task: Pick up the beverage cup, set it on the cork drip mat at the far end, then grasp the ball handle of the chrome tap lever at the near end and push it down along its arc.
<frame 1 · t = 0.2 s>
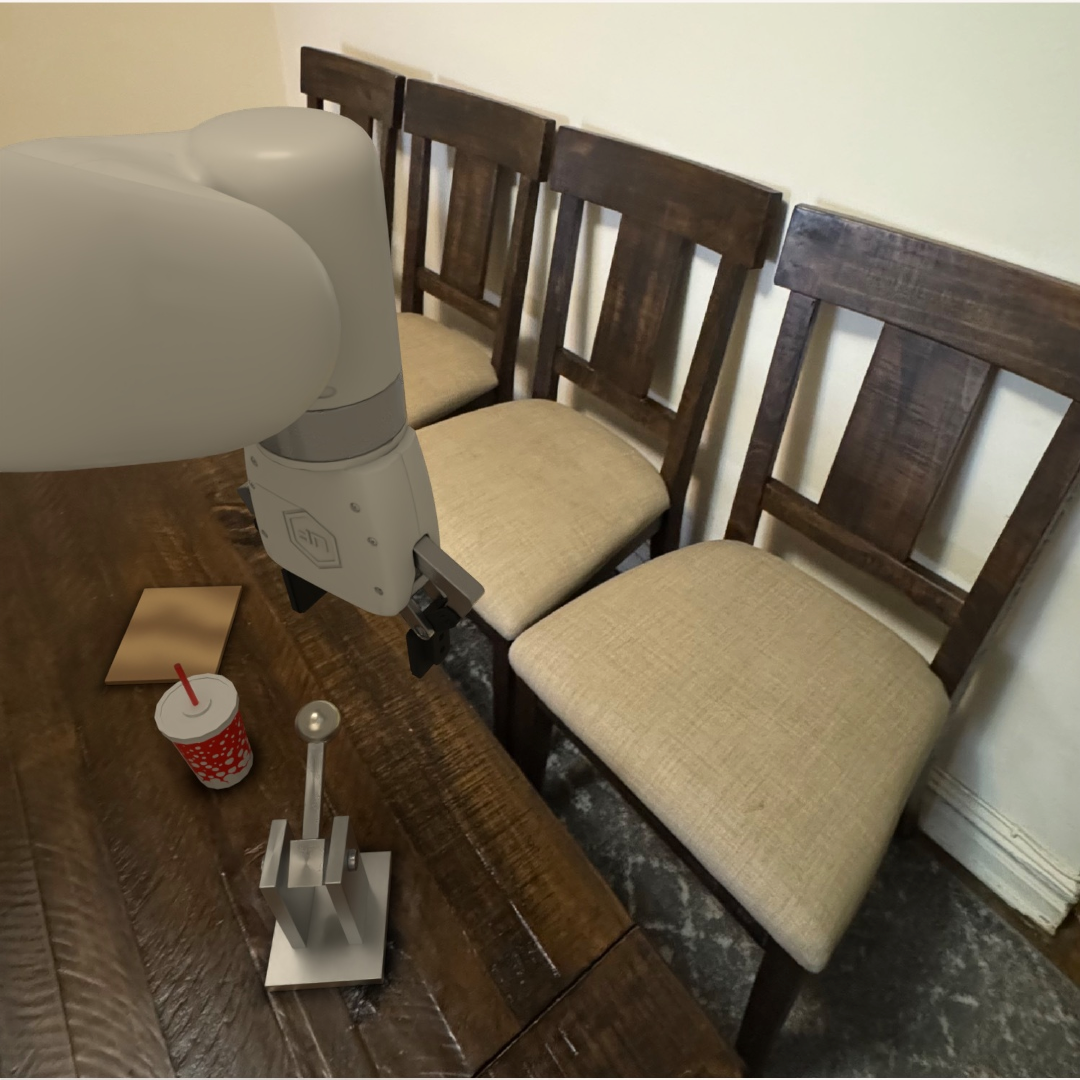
hand: (370, 629, 48), 22 cm above the table, tool pointing down, fingers open, 9 cm apart
beverage cup: (226, 765, 65), on the table
tap lever: (314, 788, 50), point 12 cm above the table, hinge at 25.0°
drip mat: (179, 634, 75), on the table
tap: (334, 920, 55), on the table
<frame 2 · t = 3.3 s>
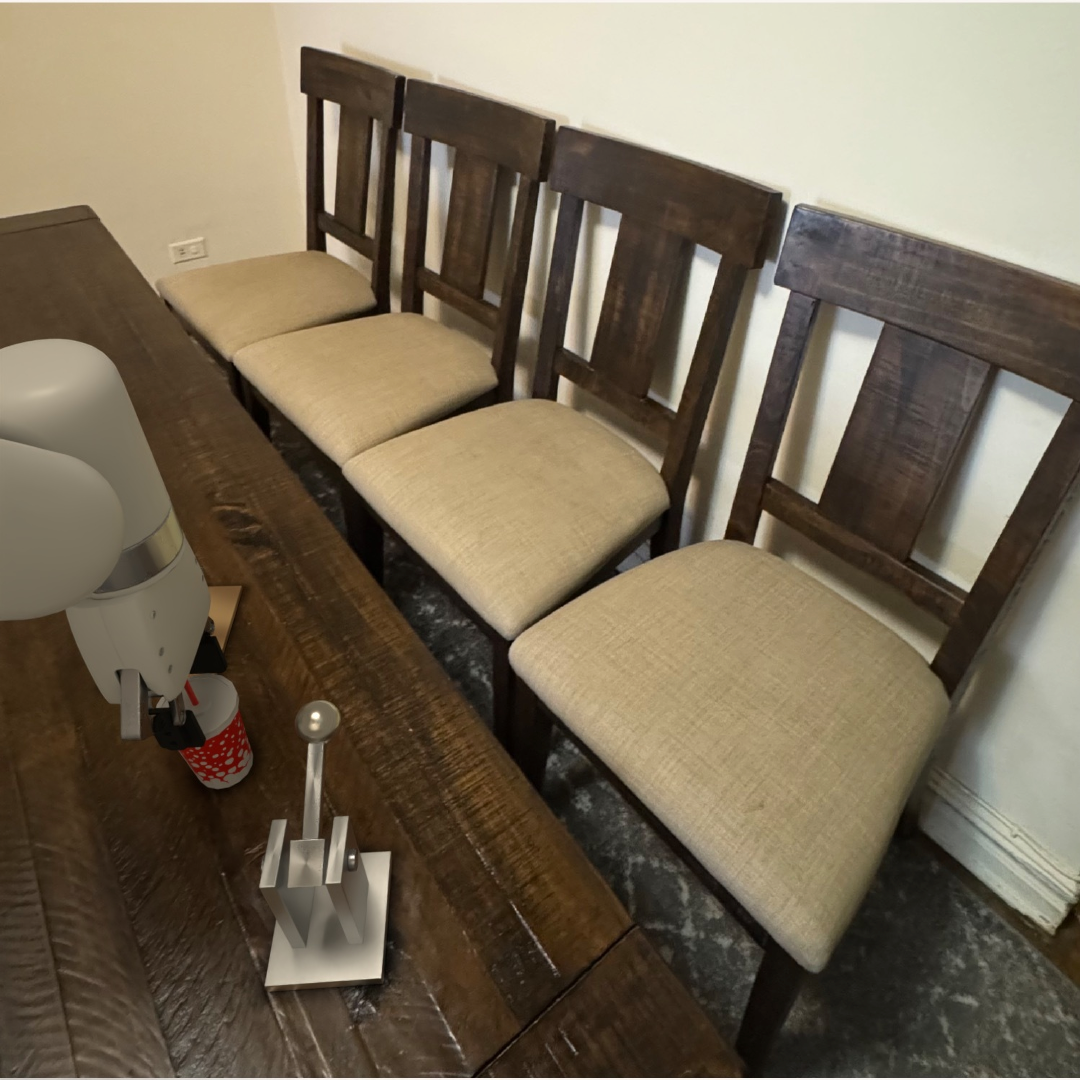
hand: (196, 704, 58), 9 cm above the table, tool pointing down, fingers closed on beverage cup, 6 cm apart
beverage cup: (226, 765, 65), on the table, touching gripper
everything else where it was.
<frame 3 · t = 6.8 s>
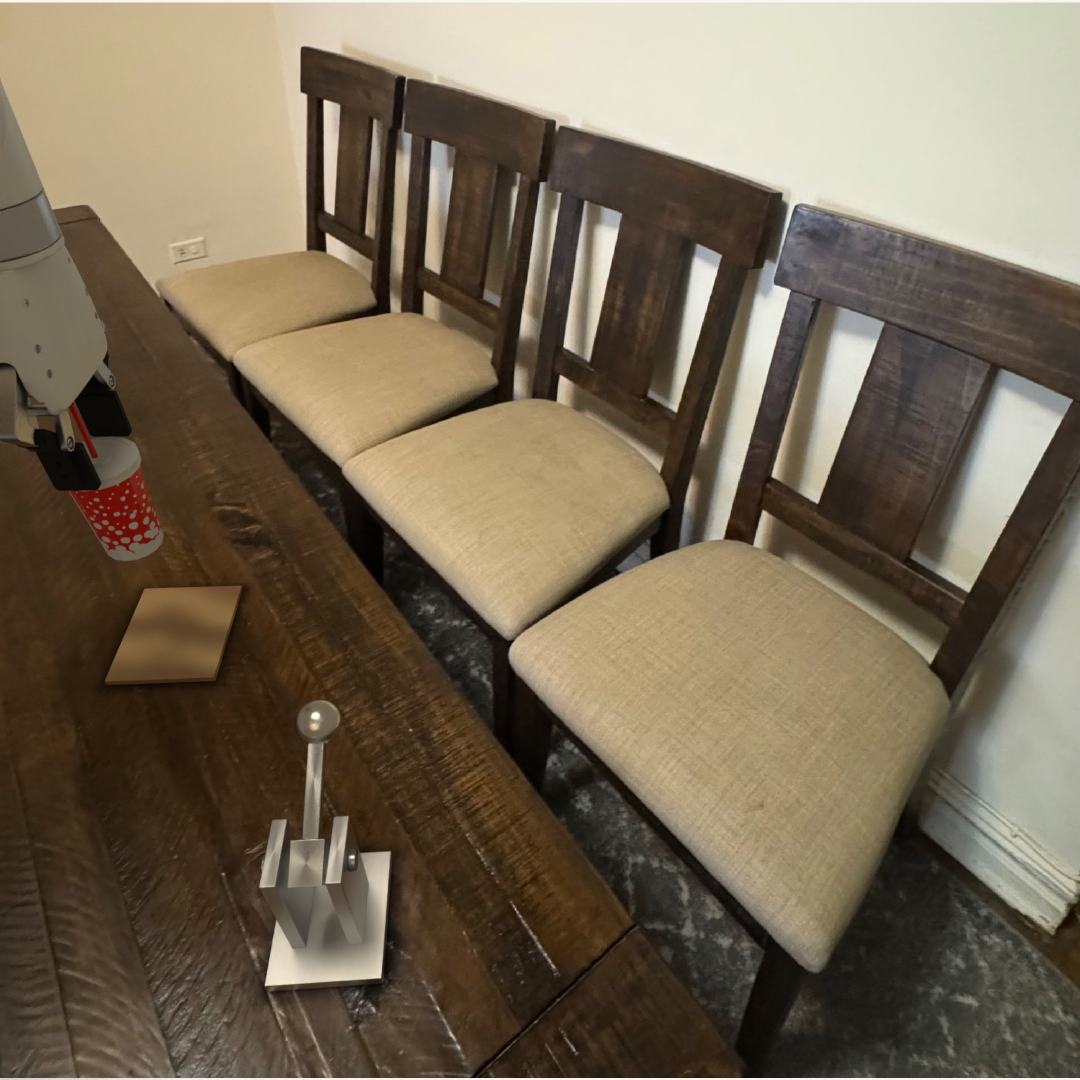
hand: (95, 458, 58), 23 cm above the table, tool pointing down, fingers closed on beverage cup, 6 cm apart
beverage cup: (135, 544, 64), point 14 cm above the table, touching gripper
everything else where it was.
when the fingers open (10 cm above the table, at t = 10.2 s): beverage cup stays where it is, resting on drip mat.
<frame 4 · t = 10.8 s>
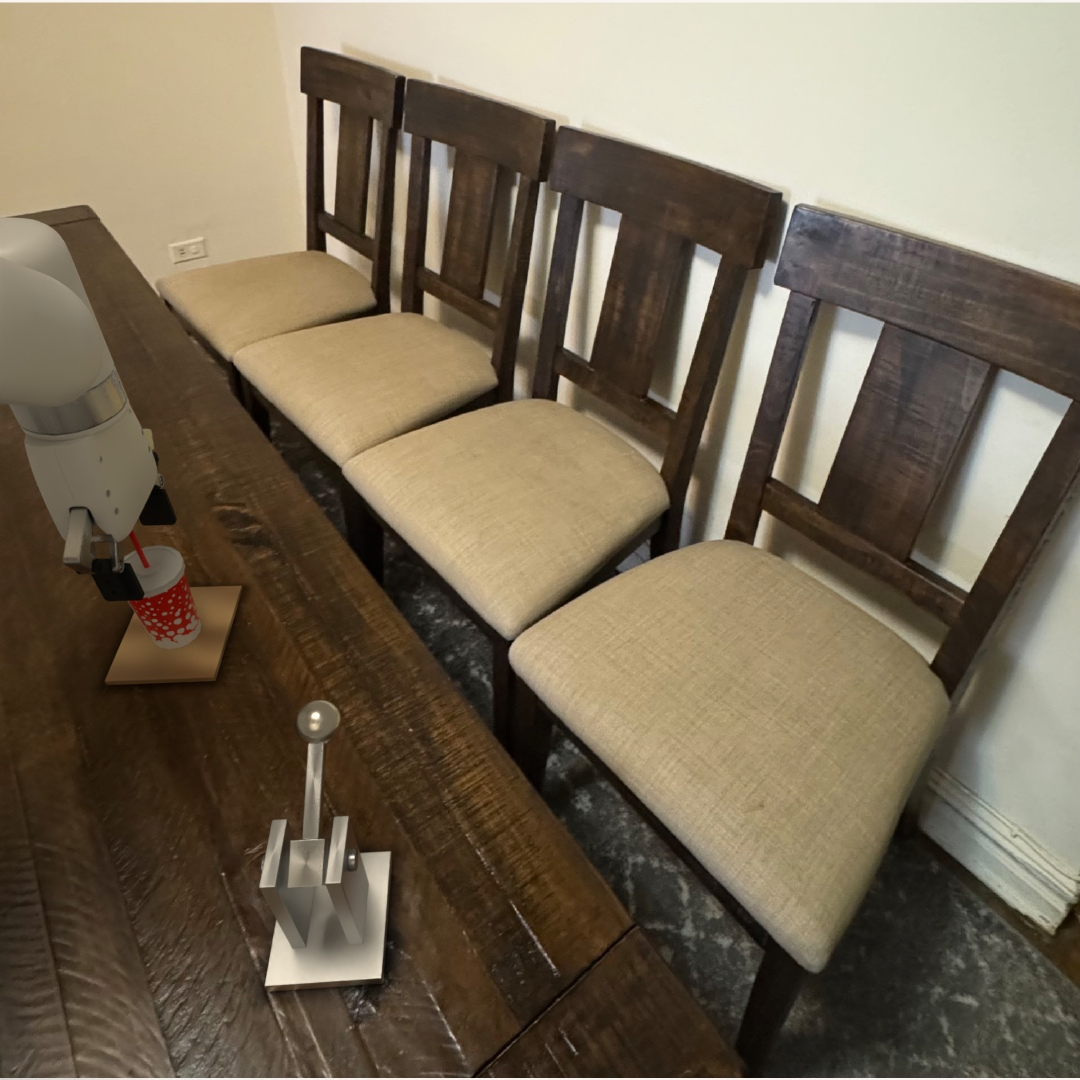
hand: (143, 558, 67), 11 cm above the table, tool pointing down, fingers open, 9 cm apart
beverage cup: (177, 632, 74), resting on drip mat
everything else where it was.
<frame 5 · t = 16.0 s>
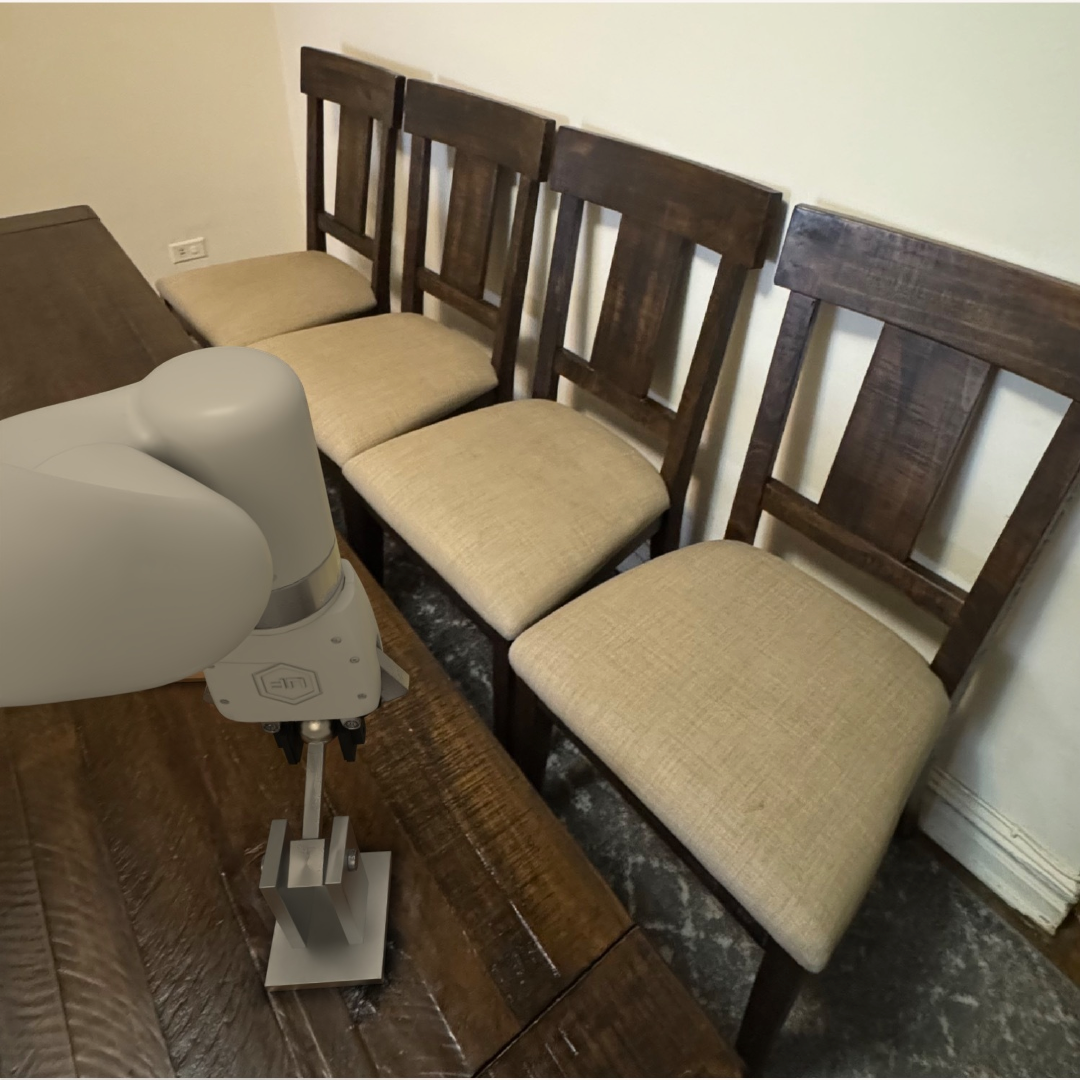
hand: (325, 744, 54), 11 cm above the table, tool pointing down, fingers closed on tap lever, 3 cm apart
tap lever: (314, 788, 50), point 12 cm above the table, hinge at 25.0°, touching gripper
everything else where it was.
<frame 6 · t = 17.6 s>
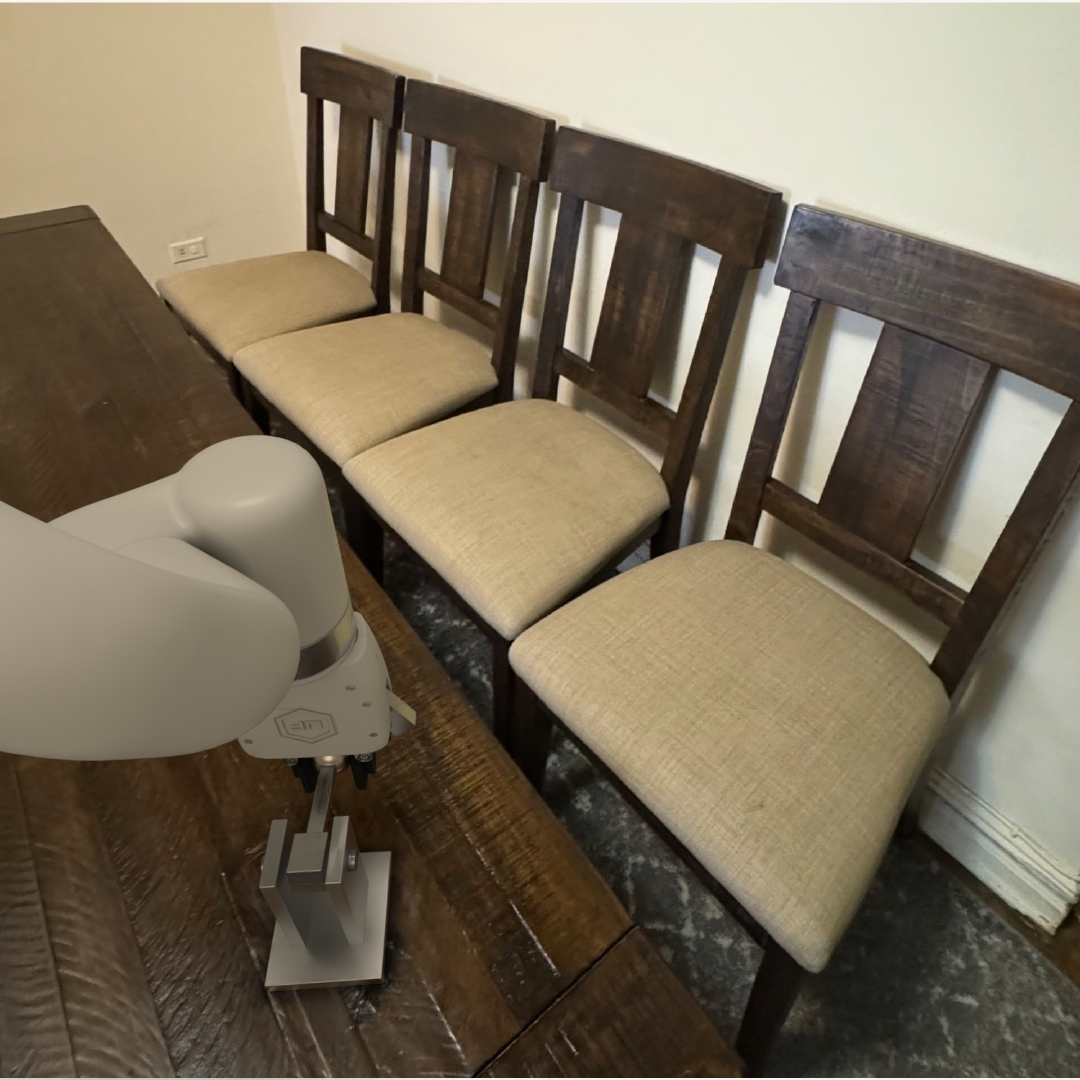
hand: (338, 773, 58), 5 cm above the table, tool pointing down, fingers closed on tap lever, 3 cm apart
tap lever: (322, 803, 52), point 9 cm above the table, hinge at -9.6°, touching gripper
everything else where it was.
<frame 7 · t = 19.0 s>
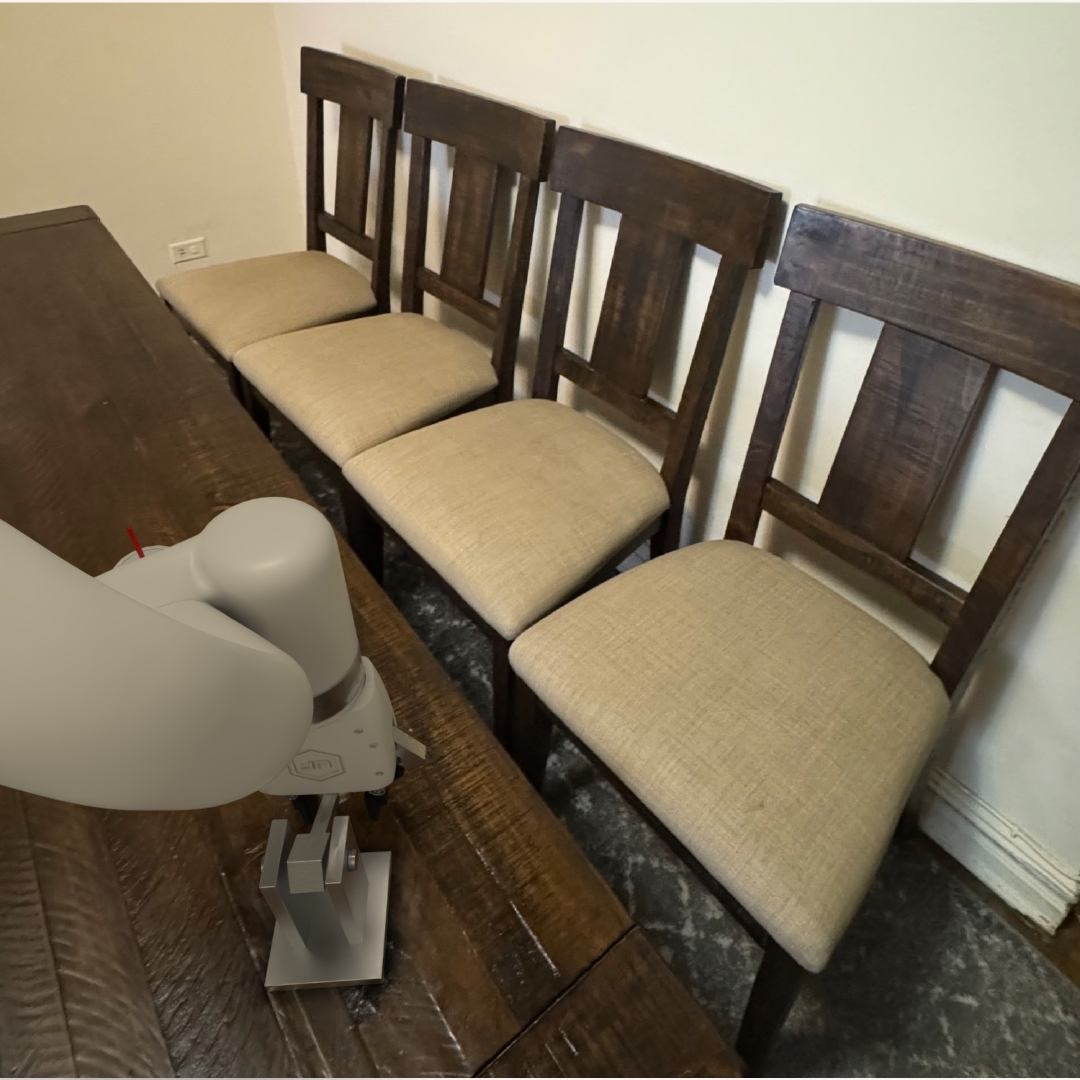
hand: (344, 805, 60), 2 cm above the table, tool pointing down, fingers open, 4 cm apart
tap lever: (324, 819, 53), point 8 cm above the table, hinge at -28.6°
everything else where it was.
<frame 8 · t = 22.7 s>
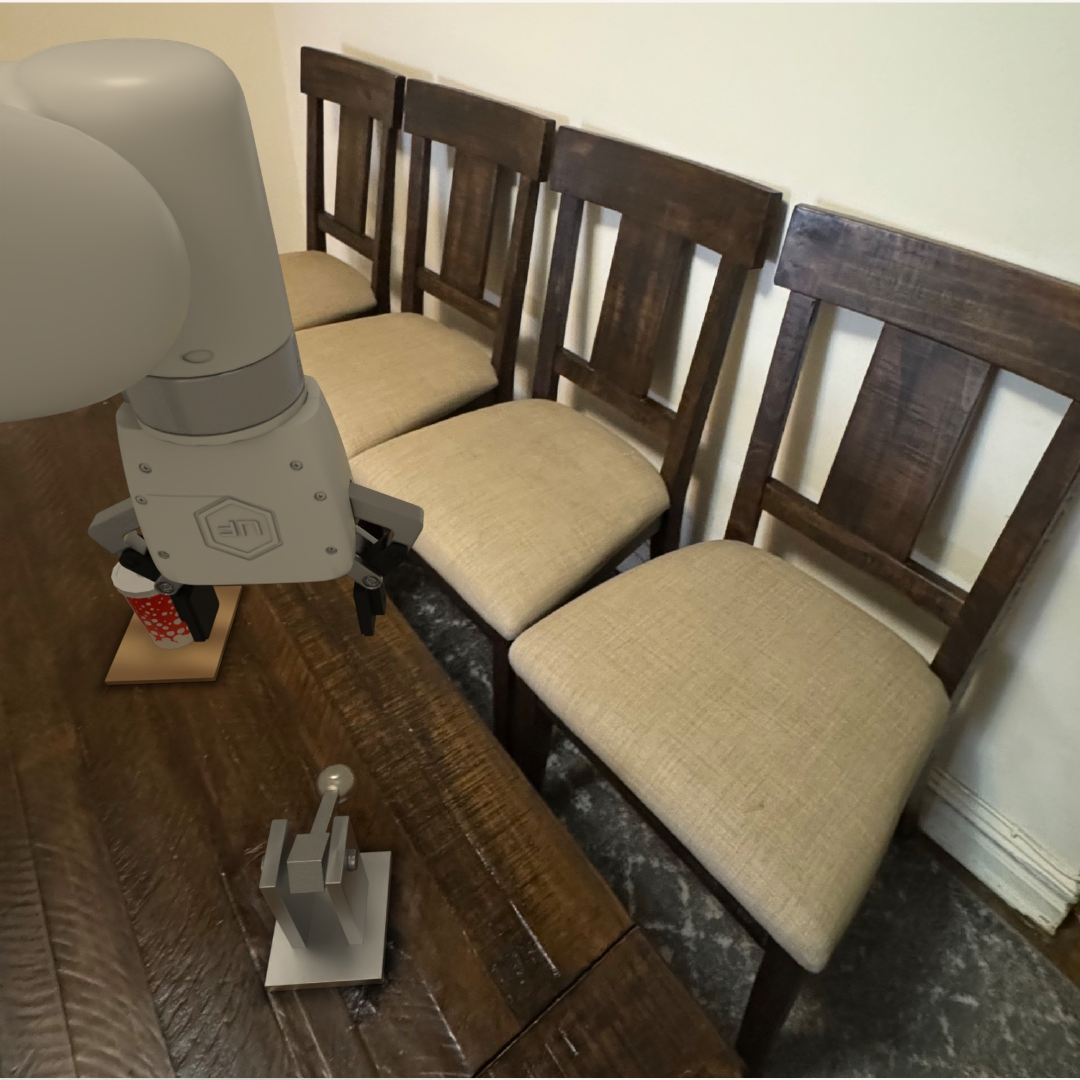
hand: (290, 621, 45), 24 cm above the table, tool pointing down, fingers open, 9 cm apart
nothing on the table moved.
at the end: beverage cup inside the target area on the drip mat (0.1 cm from its centre), point 0.4 cm above the drip mat's base; beverage cup tilted 0°; tap lever at -29° (first picture: +25°) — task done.
